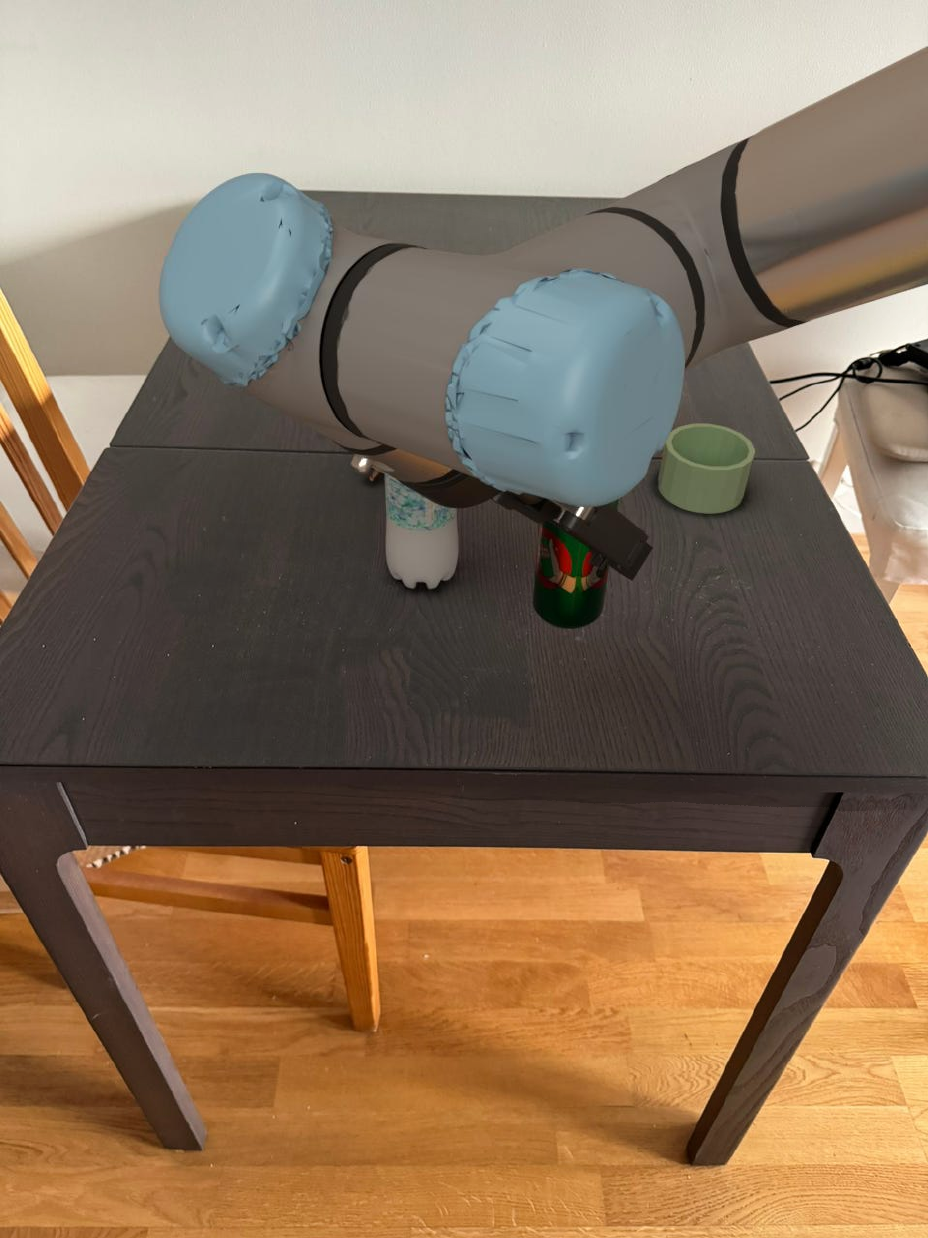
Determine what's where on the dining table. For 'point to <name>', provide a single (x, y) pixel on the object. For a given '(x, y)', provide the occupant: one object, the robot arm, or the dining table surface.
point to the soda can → (567, 580)
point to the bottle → (419, 537)
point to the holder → (705, 468)
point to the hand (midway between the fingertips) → (606, 543)
